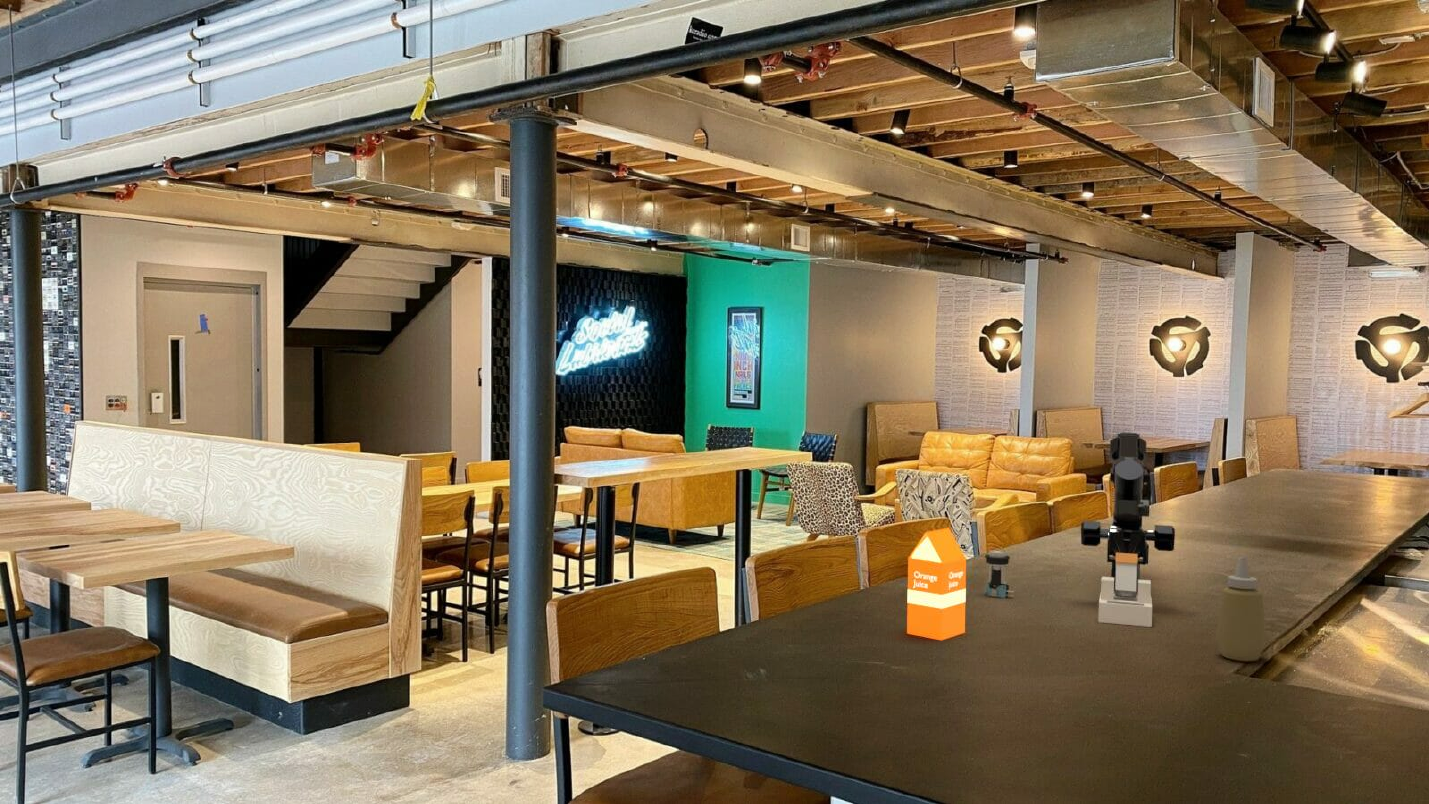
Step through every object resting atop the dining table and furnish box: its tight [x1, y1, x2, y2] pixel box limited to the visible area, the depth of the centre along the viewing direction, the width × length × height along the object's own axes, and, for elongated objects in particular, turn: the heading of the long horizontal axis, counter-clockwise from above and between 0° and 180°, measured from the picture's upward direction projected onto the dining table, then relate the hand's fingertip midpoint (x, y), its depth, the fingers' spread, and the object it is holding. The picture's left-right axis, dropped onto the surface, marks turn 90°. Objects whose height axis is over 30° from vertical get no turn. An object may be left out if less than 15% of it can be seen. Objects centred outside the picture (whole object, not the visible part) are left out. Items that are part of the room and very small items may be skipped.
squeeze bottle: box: [1215, 556, 1267, 662], centre depth 187 cm, size 8×8×18 cm
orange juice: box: [906, 527, 967, 641], centre depth 203 cm, size 8×9×20 cm
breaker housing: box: [1098, 576, 1153, 628], centre depth 217 cm, size 11×10×8 cm
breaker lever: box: [1114, 553, 1138, 598], centre depth 218 cm, size 3×4×9 cm
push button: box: [984, 550, 1015, 599], centre depth 238 cm, size 7×5×10 cm
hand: (1126, 567), depth 222 cm, fingers closed
